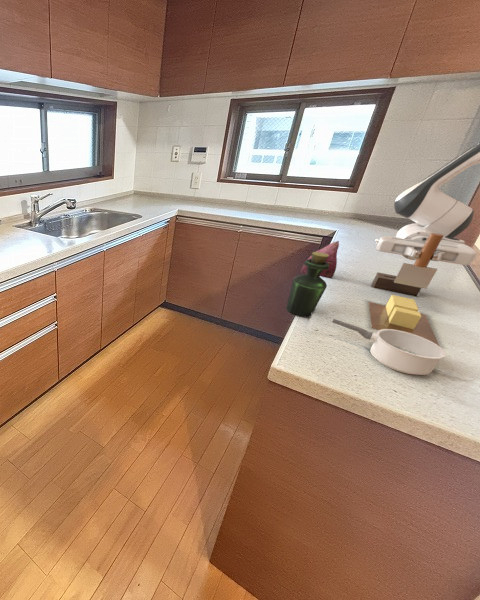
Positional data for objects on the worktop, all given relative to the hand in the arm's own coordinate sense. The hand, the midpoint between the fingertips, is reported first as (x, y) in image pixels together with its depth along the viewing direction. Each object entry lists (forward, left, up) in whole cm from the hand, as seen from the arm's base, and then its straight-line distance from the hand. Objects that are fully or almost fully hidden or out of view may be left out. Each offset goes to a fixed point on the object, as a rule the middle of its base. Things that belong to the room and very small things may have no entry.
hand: (426, 256), depth 88 cm
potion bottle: (+23, +18, -18) cm, 35 cm away
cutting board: (0, +9, -18) cm, 20 cm away
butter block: (0, +4, -16) cm, 17 cm away
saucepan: (+6, +31, -18) cm, 37 cm away
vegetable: (+21, -22, -18) cm, 35 cm away
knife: (0, -1, -9) cm, 9 cm away
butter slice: (0, +11, -16) cm, 20 cm away
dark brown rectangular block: (-1, -20, -18) cm, 27 cm away
